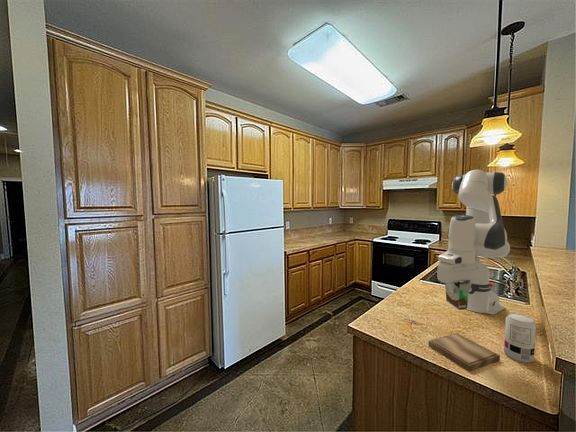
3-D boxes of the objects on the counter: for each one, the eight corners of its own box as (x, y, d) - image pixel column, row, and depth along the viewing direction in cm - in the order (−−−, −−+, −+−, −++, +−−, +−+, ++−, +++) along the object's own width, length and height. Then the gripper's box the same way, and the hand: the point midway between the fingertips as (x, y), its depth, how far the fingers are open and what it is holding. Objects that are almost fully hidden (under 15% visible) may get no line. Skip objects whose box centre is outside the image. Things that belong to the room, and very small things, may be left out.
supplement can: (498, 350, 96) (500, 313, 95) (517, 349, 97) (519, 312, 96) (519, 364, 88) (521, 323, 87) (540, 363, 89) (543, 322, 88)
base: (456, 337, 105) (456, 332, 105) (499, 360, 90) (500, 354, 90) (428, 345, 100) (428, 340, 100) (469, 371, 85) (469, 365, 85)
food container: (478, 311, 92) (478, 285, 92) (460, 311, 93) (460, 284, 93) (460, 299, 105) (459, 276, 104) (444, 299, 105) (444, 276, 105)
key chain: (399, 323, 118) (399, 322, 118) (405, 318, 123) (405, 316, 123) (429, 333, 109) (429, 332, 109) (434, 327, 114) (434, 325, 114)
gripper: (471, 253, 104) (469, 285, 105) (434, 256, 97) (433, 291, 98) (487, 256, 98) (485, 290, 99) (450, 260, 91) (448, 297, 92)
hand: (459, 291), depth 98 cm, fingers closed on food container, 6 cm apart
